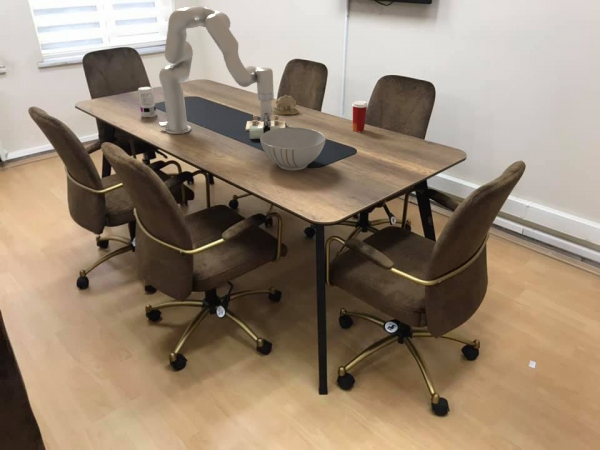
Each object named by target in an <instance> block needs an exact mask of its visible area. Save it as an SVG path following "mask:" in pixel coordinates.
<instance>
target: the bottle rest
mask: <svg viewBox="0 0 600 450" xmlns="http://www.w3.org/2000/svg"><path fill="white" fill-rule="evenodd" d="M252 117H253V119H252V120H247V121H246V125H245V131H246V132H249V128H250V126H264V122H261V120H258V115H257V114H254V115H252ZM271 126H279V128H286V120H279V115H278V114H274V120H271Z"/></svg>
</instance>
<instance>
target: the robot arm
mask: <svg viewBox="0 0 600 450" xmlns="http://www.w3.org/2000/svg"><path fill="white" fill-rule="evenodd" d="M198 27H203V28H205V29H206V31H207V32H208V34H209V35H210V37H211V39H212V40H213V42H214V43H215V44H216V46H217V47H218V49H219V50H220V51H221V54H222V56H223V61H224V63H225V66H226V68H227V70H228V73H230V75H231V77H232V78H233V80H234V82H235V83H236V84H238V86H240V87H242V88H248V87H250V86H251V85H253V84H255V83H256V93H257V95H256V96H257V101H259V111H260V112H259V115H260V119H259V120H260V121H261V122H264V127H263V133H265V132H267V131H270V126H271V121H272V115H273V114H272V113H273V107H272V101H274V99H275V98H274V97H275V95H274V93H275V92H274V71H273V69H272V68H271V67H259V66H258V67H257V66H252V65H251V66H250V65H249V66H246V67H245V66H244V64H243V62H242V61H241V58H240V55H239V42H238V40H237V39H236V37H235V36H234V34H233V32H232V31H231V30H230V27H231V21H230V17H228V15H227V14H226V13H224V12H222V11H219V10H215V9H211V8H209V7H205V6H200V5H194V6H188V7H187V6H186V7H183V8H178V9H175V10H173V11H172V12H171V14H170V15H169V18H168V23H167V33H166V39H165V47H164V57H165V60H166V61H167V62H168V63H169V64H168V65H166V66H164V67H163V68H161V69H160V71H159V74H158V75H159V76H158V78H159V82H160V85H161V89H162V94H163V101H164V106H165V107H164V108H165V113H166V121H165V122H163V121H162V122H161V121H159V123H158V125H159V127H161V128H165V133H168V134H171V135H179V134H180V135H182V134H185V133H189V132H190V131H191V130H192V127H191V126H190V125H189V124H188V119H187V118H188V117H187V110H186V102H185V101H186V100H185V95H184V91H183V90H184V89H183V88H182V85H181V83H184V82H186V81H187V80H188V79H189V77H190V75H191V74H190V73H191V68H192V61H193V55H194V52H193V51H194V50H193V47H192V45H191V43H190V42H188V41H187V37H188V35H187V29H194V28H198Z"/></svg>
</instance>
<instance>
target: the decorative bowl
mask: <svg viewBox="0 0 600 450" xmlns="http://www.w3.org/2000/svg"><path fill="white" fill-rule="evenodd" d="M259 140H260V144H261V147H262V149H263V151H264V153H265V154H266V156H267V157H268V158H269V159H270V160H271V161H272V162H273V163H275V164H277V165H278V167H279V168H280V169H282V170H285V171H300V170H301V171H302V170H303V169H306V168H307V167H308V165H309V164H311V163H312V162H314V161H315V160H316V159H317V158H318V156H319V155H320V154H321V152H322V150H323V148H324V147H325V144H326V136H325V135H324V133H322V132H321V131H318V130H316V129H312V128H306V127H299V126H298V127H297V126H294V127H293V126H292V127H286V126H285V128H278V129H273V130H270V131H267V132H265V133H264V134H262V135H261V137H260V139H259Z"/></svg>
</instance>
